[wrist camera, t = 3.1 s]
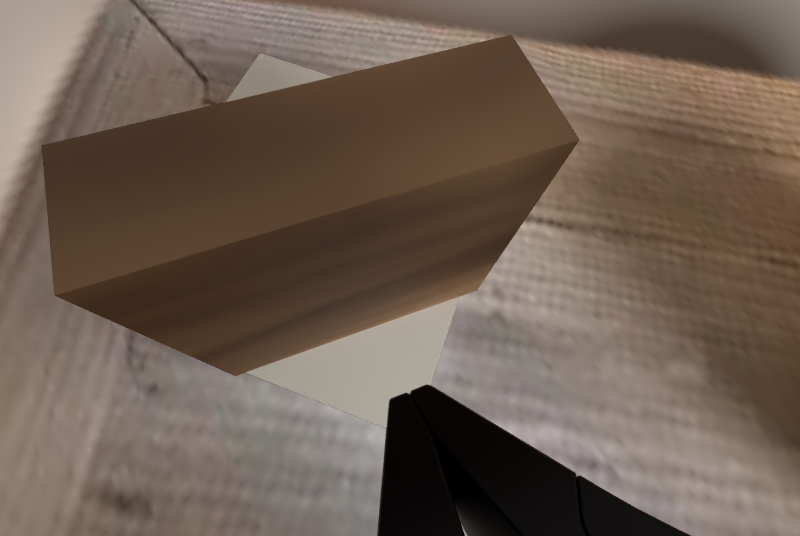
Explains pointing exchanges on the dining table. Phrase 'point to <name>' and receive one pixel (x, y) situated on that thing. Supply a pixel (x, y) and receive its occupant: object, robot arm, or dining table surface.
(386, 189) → the walnut slab
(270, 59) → the felt mat
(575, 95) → the dining table surface
